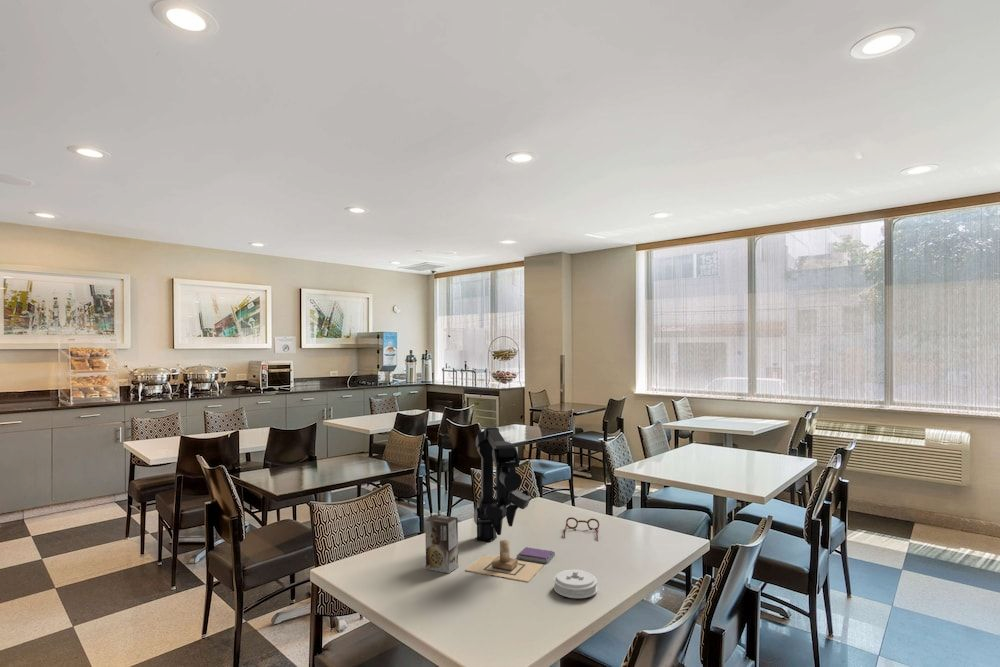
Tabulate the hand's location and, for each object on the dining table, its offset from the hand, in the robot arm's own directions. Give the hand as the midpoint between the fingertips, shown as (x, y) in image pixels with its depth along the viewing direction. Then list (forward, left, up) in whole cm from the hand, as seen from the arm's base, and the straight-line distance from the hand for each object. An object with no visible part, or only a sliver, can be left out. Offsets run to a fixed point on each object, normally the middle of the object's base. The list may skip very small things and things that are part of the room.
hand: (504, 530), depth 176 cm
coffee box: (-19, -9, -12) cm, 24 cm away
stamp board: (0, -1, -12) cm, 12 cm away
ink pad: (+6, +12, -12) cm, 18 cm away
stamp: (0, -1, -12) cm, 12 cm away
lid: (+26, -8, -12) cm, 30 cm away
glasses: (+14, +41, -12) cm, 45 cm away
